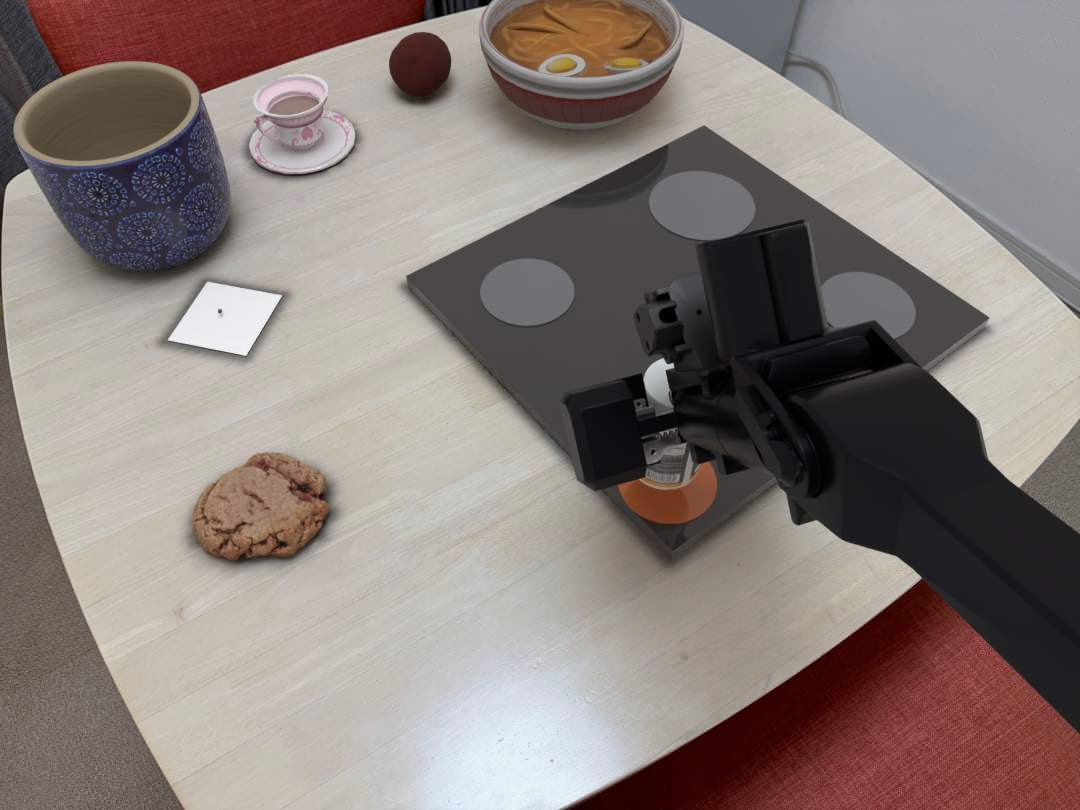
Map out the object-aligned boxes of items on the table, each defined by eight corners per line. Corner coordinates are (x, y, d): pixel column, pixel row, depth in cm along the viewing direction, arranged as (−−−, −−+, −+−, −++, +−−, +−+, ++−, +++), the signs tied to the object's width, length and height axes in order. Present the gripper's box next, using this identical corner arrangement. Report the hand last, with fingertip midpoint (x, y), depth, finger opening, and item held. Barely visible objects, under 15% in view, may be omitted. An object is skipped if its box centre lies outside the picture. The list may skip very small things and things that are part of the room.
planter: (219, 295, 87) (168, 170, 75) (54, 288, 87) (-23, 163, 76) (262, 186, 97) (222, 61, 85) (113, 181, 98) (54, 56, 86)
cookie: (178, 506, 72) (165, 486, 70) (296, 442, 76) (287, 421, 73) (230, 596, 67) (219, 578, 65) (353, 523, 71) (346, 503, 69)
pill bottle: (664, 421, 71) (678, 337, 63) (715, 467, 68) (737, 385, 61) (611, 457, 69) (619, 375, 61) (661, 507, 66) (676, 427, 58)
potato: (459, 70, 111) (455, 16, 105) (447, 109, 106) (441, 55, 100) (401, 66, 111) (394, 13, 106) (386, 105, 106) (377, 51, 101)
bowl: (631, 182, 97) (639, 101, 89) (448, 129, 103) (440, 49, 95) (700, 76, 110) (712, -3, 102) (533, 34, 116) (533, -44, 108)
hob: (983, 328, 84) (990, 316, 82) (670, 561, 69) (672, 551, 67) (702, 136, 102) (704, 123, 101) (407, 286, 87) (405, 274, 86)
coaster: (246, 355, 82) (243, 350, 81) (167, 340, 83) (164, 334, 82) (282, 295, 86) (280, 289, 86) (207, 281, 88) (205, 275, 87)
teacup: (314, 100, 107) (302, 52, 102) (377, 142, 102) (369, 94, 97) (229, 144, 102) (213, 96, 97) (291, 190, 96) (278, 142, 92)
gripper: (886, 239, 50) (760, 259, 65) (572, 313, 46) (517, 316, 62) (919, 429, 51) (788, 405, 67) (617, 515, 48) (552, 470, 63)
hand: (665, 396), depth 64 cm, fingers closed on pill bottle, 6 cm apart
